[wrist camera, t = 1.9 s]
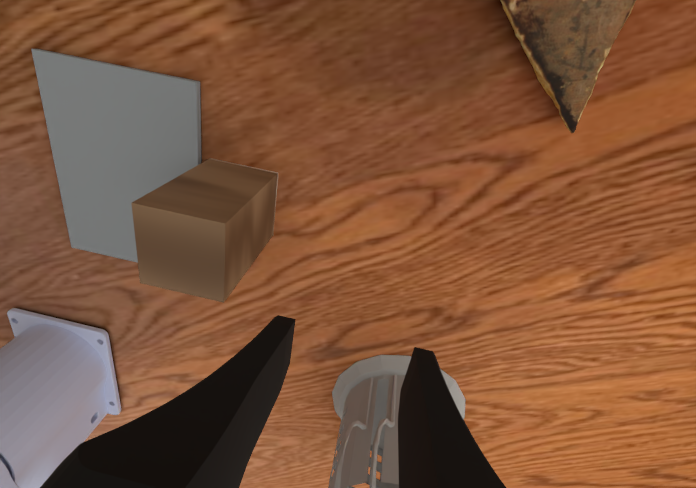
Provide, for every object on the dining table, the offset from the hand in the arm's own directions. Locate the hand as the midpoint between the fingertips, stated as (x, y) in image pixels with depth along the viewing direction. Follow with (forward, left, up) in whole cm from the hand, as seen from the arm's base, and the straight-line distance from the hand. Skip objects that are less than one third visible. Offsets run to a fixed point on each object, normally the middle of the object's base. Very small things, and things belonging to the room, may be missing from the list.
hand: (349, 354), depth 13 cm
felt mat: (0, +15, -10) cm, 18 cm away
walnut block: (0, +8, -10) cm, 13 cm away
